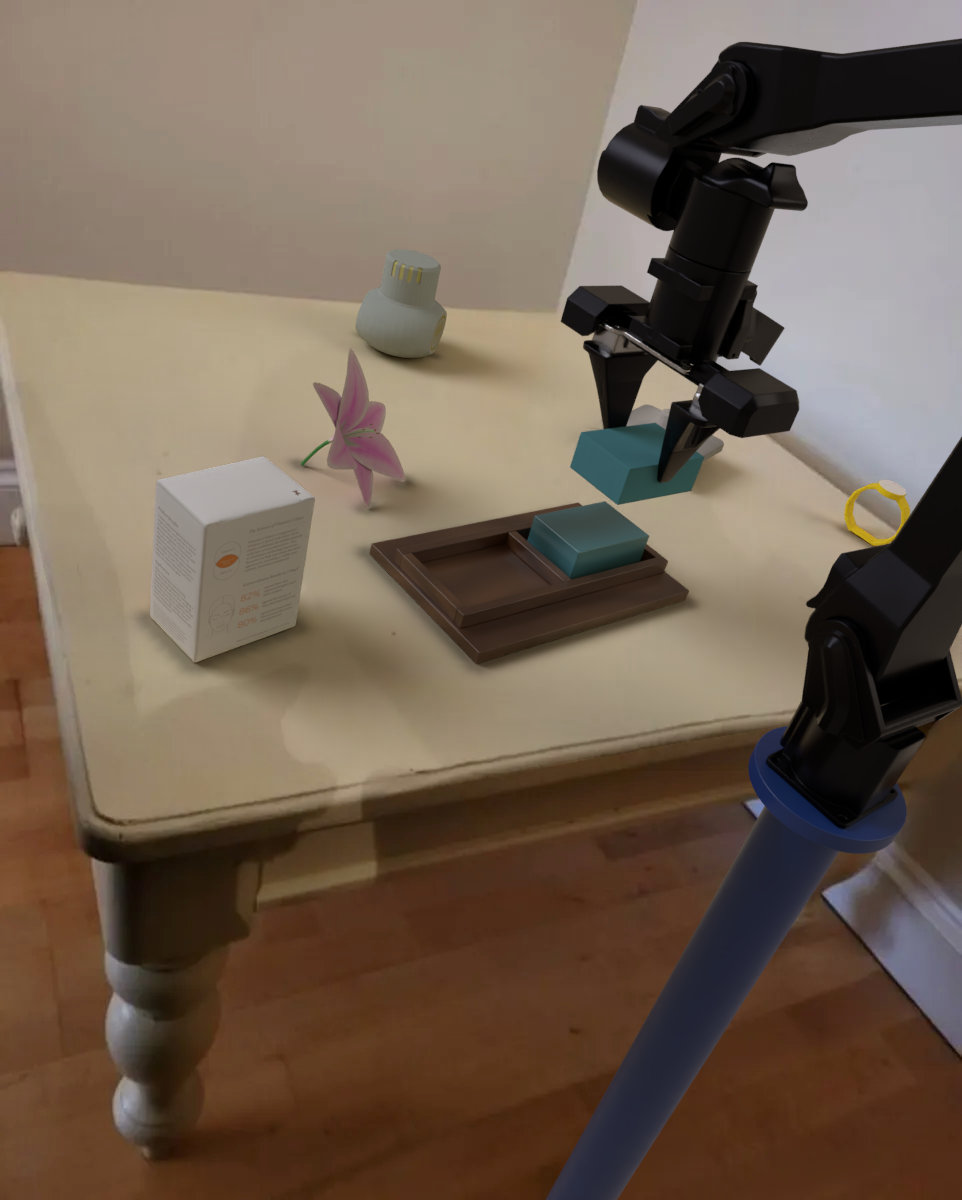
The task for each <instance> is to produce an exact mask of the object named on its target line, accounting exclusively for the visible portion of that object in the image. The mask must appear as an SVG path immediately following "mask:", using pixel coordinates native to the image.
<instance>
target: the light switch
mask: <svg viewBox="0 0 962 1200" xmlns="http://www.w3.org/2000/svg"><path fill="white" fill-rule="evenodd" d="M669 412H670V408H664V409H660V408H658V407H656V406H654V405H651V404H647V403H646V404H643V405H640V406H638V407H636V408H633V409H632V412H631V414H630V417H629V420H628V423H627V426H633V425H641V424H649V423H657V424H658V425H660V426H661V427H662V428H664V429H665V430H666V426H667V421H668V416H669ZM724 446H725V442H724V441H723V440H722V438H719V437H717V436H715V435H714V434H713V435H712V436H711V437H710V438H708V439H707V440H706V441H705V442H704V443H703V444H702V446H701V447H700V448H699V449H698V450H697V452H698V453H700V454H701V455H702V456H704V460H703V462H702V464H703V463H704V462H706V461H708V460H709V459H711V458H713V457H714V456H716V455H718V454H719V453H721V452H722V451H723V448H724Z"/></svg>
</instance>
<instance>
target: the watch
mask: <svg viewBox="0 0 962 1200" xmlns="http://www.w3.org/2000/svg"><path fill="white" fill-rule="evenodd" d="M867 490H876V491H877V492H878V493H879V495H881V496H883V497H884V498H887V499H889V500H891V501H895V502H896V505H897V506H898V508H899V511H900V525H899V527H898V528H897V530H896V532H895V534H894V535H892V536H890V537H889V538H880V539H879V538H876V537H875V536H873V535H872V534H870V533H869V532H868V531H866V530H865V529H863V528H861V526H859V525H857V522H856V519H855V516H854V509H855V502H856V501H857V499H858V498H859V497H860V495H861V494H862V493H863V492H865V491H867ZM906 496H907V490H906V489H905V488H904V487H903V486H901V484H899V483H896V482H895V481H892V480H889V479H880V480H878V482H872V483H869V484H866V485H865V486H862V487H860V488H858V489H856V490H855V491H853V492H852V493H851V494H850V496H849V497H848V499H847V500H846V503H845V506H844V513H843V516H844V517H843V518H844V521H845V522H844V523H845V524H846V527H847V530H848V532H851V533H853V534H855V535H856V536H858V537H859V538H861V539H862V540H864V541H865V542H867V543H868V544H870V546H871V547H875V546H880V545H884V544H889V543H891V542H892V541H893V540H894V538H895V537H896V536H897V534H898V533H899V531H900V530H901V528H902V526H903V525H904V523H905V522H906V520H907V519H908V517H909V516H910V514H911V507H910V503H908V501H907V498H906Z"/></svg>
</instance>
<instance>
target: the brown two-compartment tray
mask: <svg viewBox="0 0 962 1200" xmlns="http://www.w3.org/2000/svg"><path fill="white" fill-rule="evenodd" d="M649 539H650V534H648V533H647V532H645V531H644V529H642V528H640V527H639V526H638V525H637V524H635V523H634V522H633V521H632V520H630V519H629V518H628V517H626V516H625V515H624V514H622V513H621V512H620V511H619V510H618V509H616V508H615V507H614V506H612V505H611V504H610V503H608V502H607V501H600V502H595V503H589V504H585V505H582V504H581V503H580V502H574V503H569V504H563V505H559V506H554V507H549V508H544V509H539V510H532V511H528V512H523V513H517V514H513V515H508V516H502V517H499V518H498V517H497V518H493V519H487V520H483V521H477V522H473V523H468V524H463V525H457V526H453V527H448V528H443V529H438V530H432V531H427V532H423V533H418V534H412V535H408V536H402V537H397V538H392V539H388V540H387V539H386V540H382V541H377V542H372V543H371V544H370V548H369V555H370V556H371V557H372V558H373V559H374V561H376V562H377V563H378V564H379V566H381V567H382V568H383V570H384V571H385V572H386V573H387V574H388V575H389V576H390V577H391V578H392V579H393V580H394V581H395V582H396V583H397V584H398V585H399V586H400V587H401V588H402V589H403V590H404V591H405V592H406V594H408V595H409V596H410V597H411V598H412V600H414V601H415V603H416V604H418V606H419V607H420V608H421V609H423V611H424V612H426V614H427V615H428V616H429V617H430V618H431V619H432V620H433V621H434V622H435V623H436V625H438V626H439V627H440V628H441V629H442V630H443V631H444V633H446V635H448V636H449V637H450V639H451V640H452V641H453V642H454V643H455V644H456V645H457V646H458V647H459V648H460V649H461V650H462V651H463V652H464V653H465V654H466V655H467V656H468V657H469V658H470V659H471V660H472V661H473V662H474V663H475V664H480V663H484V662H486V661H490V660H492V659H497V658H500V657H503V656H506V655H510V654H514V653H517V652H519V651H523V650H526V649H530V648H532V647H537V646H539V645H542V644H546V643H549V642H552V641H556V640H559V639H562V638H565V637H569V636H572V635H575V634H578V633H582V632H585V631H588V630H592V629H595V628H598V627H602V626H605V625H608V624H611V623H615V622H618V621H621V620H625V619H627V618H631V617H635V616H637V615H642V614H644V613H648V612H651V611H654V610H659V609H661V608H663V607H667V606H670V605H673V604H677V603H680V602H683V601H686V599H687V597H688V595H689V592H690V590H689V589H688V588H687V587H685V586H684V585H683V584H682V583H680V582H679V581H677V580H676V578H674V577H673V576H671V575H670V574H669V573H668V572H666V569H667V566H668V563H669V560H667V558H665V556H662V554H660V552H658V551H657V550H656V549H654V548H653V547H651V546H650V545H649V544H648V541H649Z"/></svg>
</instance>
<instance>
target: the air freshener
mask: <svg viewBox="0 0 962 1200" xmlns="http://www.w3.org/2000/svg"><path fill="white" fill-rule="evenodd" d="M441 270H442V266H441V264H440V262H439V261H438V260H437V259H436V258H434V257H433V256H431V255H429V254H426V253H424V252H420V251H416V250H411V249H403V248H397V249H393V250H390V251H388V252H387V253H386V255H385V261H384V265H383V270H382V276H381V282H380V286H379V287H376V288H375V287H374V288H372V289H370V290H369V291H368V292H367V294H366V295H365V296H364V297H363V300H362V301H361V304H360V306H359V308H358V309H359V310H358V311H357V314H356V319H355V320H356V321H355V330H356V332H357V334H358V335H359V337H360V338H361V339H362V340H363V341H364V342H365V343H366V344H368V345H369V346H371V347H372V348H373V349H375V350H376V351H379V352H381V353H383V354H386V355H389V356H393V357H397V358H401V359H418V358H424V357H428V356H430V355H433V354H434V353H435V352H436V349H437V347H438V346H439V343H440V342H441V339H442V337H443V334H444V331H445V327H446V322H447V319H448V318H447V317H448V313H447V310H446V309H445V308H444V307H443V306H442V304H440V302H438V301H437V300H436V294H437V290H438V285H439V279H440V275H441Z"/></svg>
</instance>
